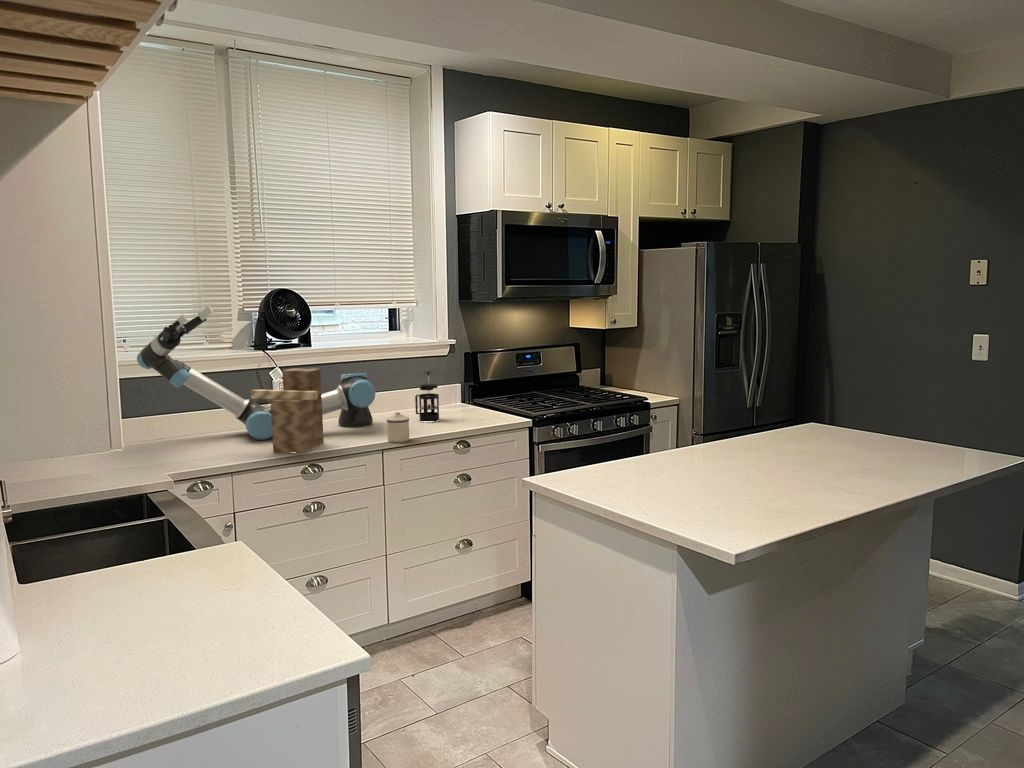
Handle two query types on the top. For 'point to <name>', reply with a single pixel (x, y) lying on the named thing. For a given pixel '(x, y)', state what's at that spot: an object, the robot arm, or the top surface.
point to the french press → (426, 415)
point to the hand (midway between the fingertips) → (198, 312)
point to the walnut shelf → (298, 413)
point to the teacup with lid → (398, 428)
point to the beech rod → (284, 394)
